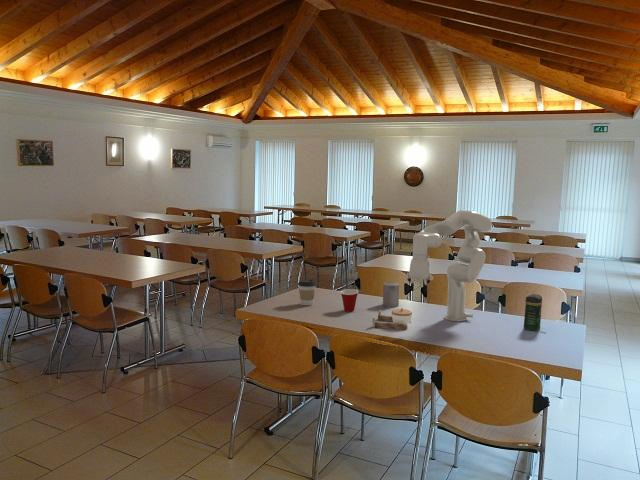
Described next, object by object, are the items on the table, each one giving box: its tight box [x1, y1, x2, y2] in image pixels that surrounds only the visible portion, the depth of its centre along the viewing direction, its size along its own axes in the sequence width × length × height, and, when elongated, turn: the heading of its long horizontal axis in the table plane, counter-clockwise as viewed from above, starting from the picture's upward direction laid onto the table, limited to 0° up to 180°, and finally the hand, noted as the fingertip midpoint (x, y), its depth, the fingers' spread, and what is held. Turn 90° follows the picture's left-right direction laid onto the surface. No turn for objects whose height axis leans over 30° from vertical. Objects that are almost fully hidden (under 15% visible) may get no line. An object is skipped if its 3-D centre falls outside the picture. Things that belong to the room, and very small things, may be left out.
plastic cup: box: [339, 288, 359, 313], centre depth 327 cm, size 11×11×12 cm
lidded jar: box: [391, 308, 413, 326], centre depth 298 cm, size 11×11×9 cm
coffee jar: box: [523, 293, 543, 332], centre depth 294 cm, size 10×8×19 cm
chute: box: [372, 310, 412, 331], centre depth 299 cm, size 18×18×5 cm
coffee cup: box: [297, 278, 317, 306], centre depth 341 cm, size 11×11×15 cm
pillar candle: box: [382, 281, 400, 308], centre depth 342 cm, size 10×10×15 cm
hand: (418, 290), depth 294 cm, fingers open, 5 cm apart
